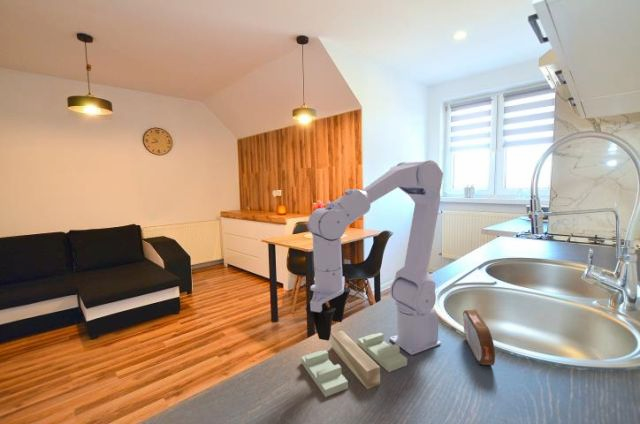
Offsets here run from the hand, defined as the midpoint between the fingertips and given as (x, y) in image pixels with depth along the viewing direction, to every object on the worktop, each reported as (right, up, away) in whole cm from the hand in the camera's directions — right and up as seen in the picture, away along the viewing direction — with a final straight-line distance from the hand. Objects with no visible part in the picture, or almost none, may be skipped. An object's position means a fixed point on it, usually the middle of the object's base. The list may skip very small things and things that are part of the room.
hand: (331, 329), depth 64 cm
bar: (+5, -9, +3) cm, 11 cm away
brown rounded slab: (+34, -8, +6) cm, 35 cm away
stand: (+5, -9, +3) cm, 11 cm away
